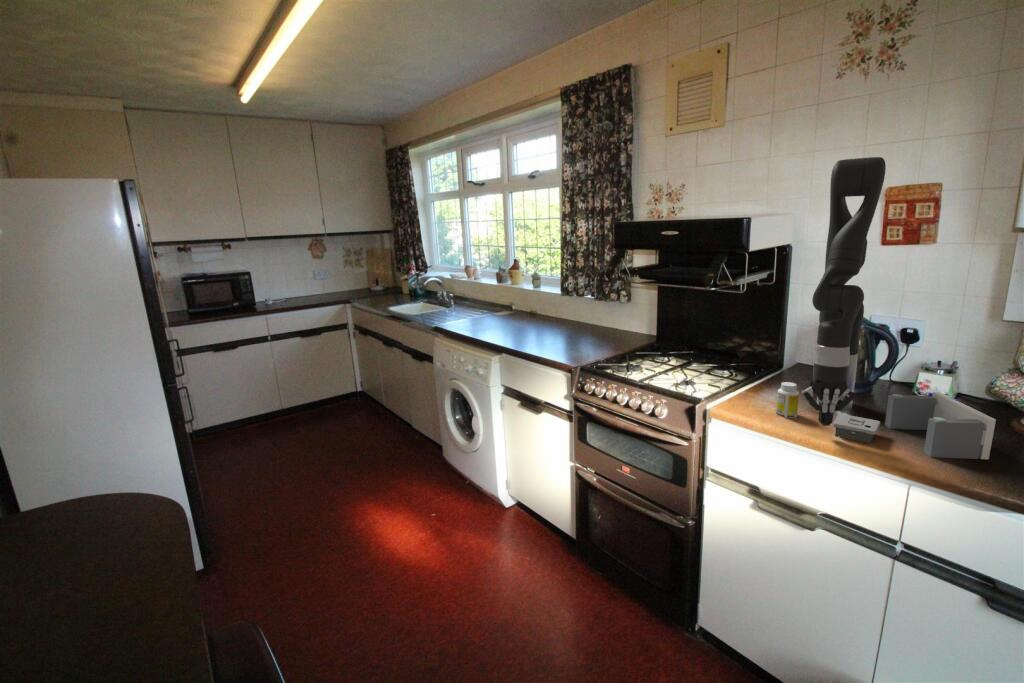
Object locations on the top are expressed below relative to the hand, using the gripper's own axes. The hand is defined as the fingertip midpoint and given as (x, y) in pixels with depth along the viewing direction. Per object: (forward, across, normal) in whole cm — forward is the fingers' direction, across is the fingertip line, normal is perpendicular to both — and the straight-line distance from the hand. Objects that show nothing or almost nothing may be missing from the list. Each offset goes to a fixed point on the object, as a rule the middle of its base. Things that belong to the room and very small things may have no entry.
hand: (824, 424), depth 127 cm
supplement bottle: (+4, +4, -15) cm, 16 cm away
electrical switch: (+4, -12, 0) cm, 13 cm away
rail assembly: (+4, -25, 0) cm, 25 cm away
